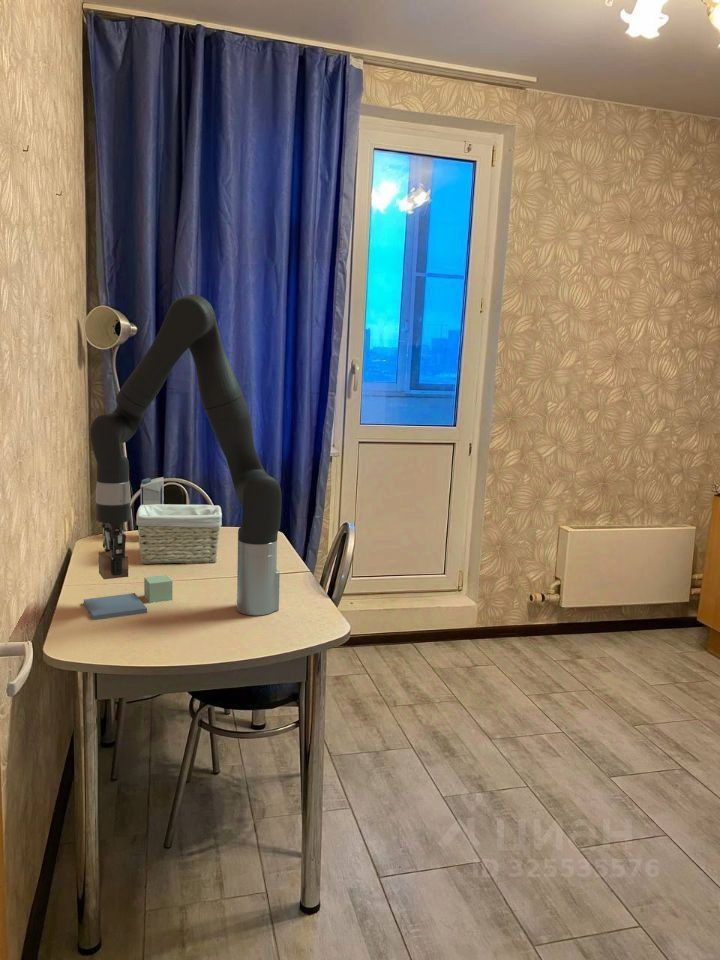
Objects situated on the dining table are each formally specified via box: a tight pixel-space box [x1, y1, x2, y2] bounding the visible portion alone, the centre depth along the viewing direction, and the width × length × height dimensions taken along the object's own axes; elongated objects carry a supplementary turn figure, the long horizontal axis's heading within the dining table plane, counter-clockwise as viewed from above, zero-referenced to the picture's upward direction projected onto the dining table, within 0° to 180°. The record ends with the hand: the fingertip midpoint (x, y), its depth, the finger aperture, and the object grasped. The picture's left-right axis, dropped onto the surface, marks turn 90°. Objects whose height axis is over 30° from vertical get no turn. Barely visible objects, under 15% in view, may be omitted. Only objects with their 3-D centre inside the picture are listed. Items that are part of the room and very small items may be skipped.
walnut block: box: [98, 550, 129, 580], centre depth 172 cm, size 6×6×5 cm
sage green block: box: [143, 574, 173, 604], centre depth 182 cm, size 6×6×5 cm
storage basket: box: [135, 503, 223, 564], centre depth 217 cm, size 24×16×15 cm
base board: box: [83, 592, 148, 621], centre depth 174 cm, size 12×12×1 cm
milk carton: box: [140, 476, 165, 505], centre depth 235 cm, size 7×7×20 cm
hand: (113, 571), depth 173 cm, fingers closed on walnut block, 5 cm apart
